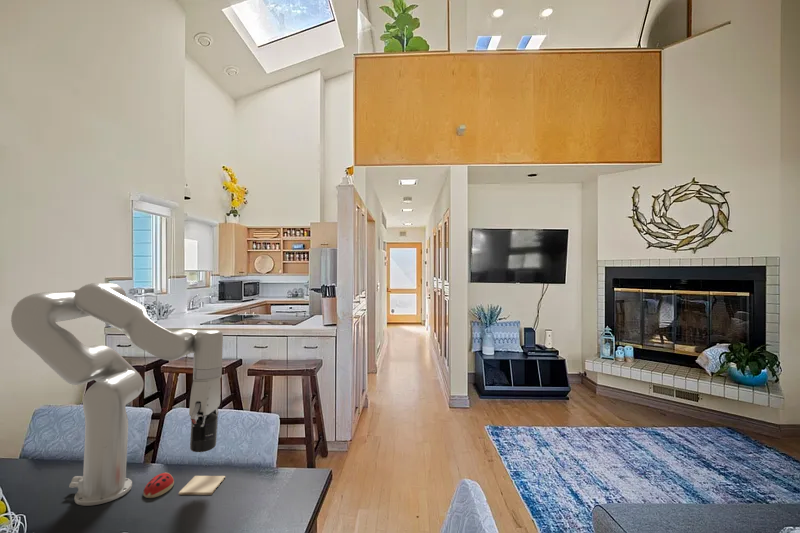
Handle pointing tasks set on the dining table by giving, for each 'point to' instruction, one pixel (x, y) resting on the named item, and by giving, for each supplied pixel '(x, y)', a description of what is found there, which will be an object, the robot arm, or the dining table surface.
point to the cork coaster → (202, 485)
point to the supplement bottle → (210, 434)
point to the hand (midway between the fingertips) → (205, 434)
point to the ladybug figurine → (158, 485)
